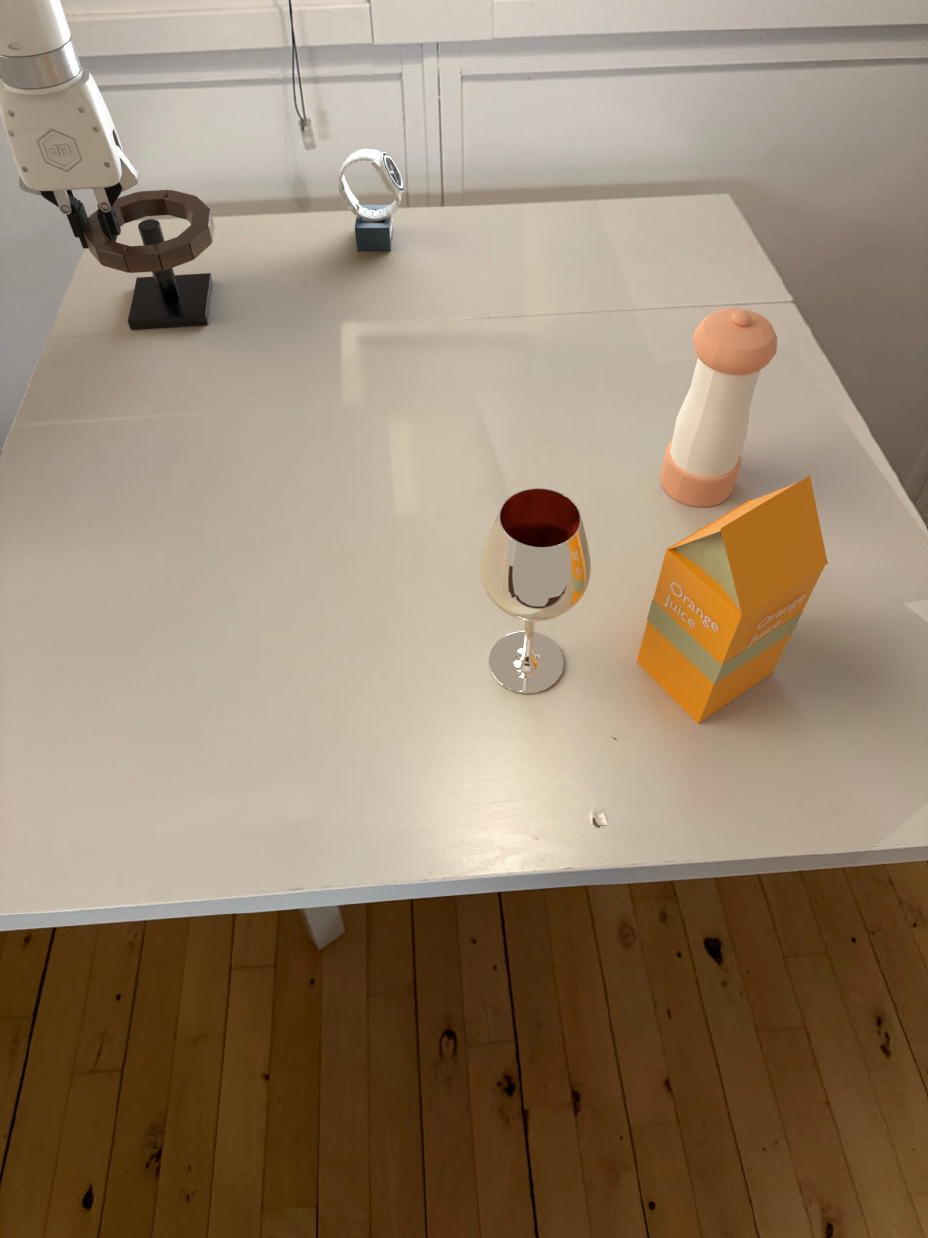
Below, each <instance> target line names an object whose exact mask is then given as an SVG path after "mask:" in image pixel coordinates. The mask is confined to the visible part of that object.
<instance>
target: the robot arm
mask: <svg viewBox="0 0 928 1238" xmlns="http://www.w3.org/2000/svg"><path fill="white" fill-rule="evenodd" d="M0 117H1V121H2V125H3V128H4V131H5V135H6V139H7V142H8V144H9V147H10V151H11V154H12V157H13V160H14V163H15V167H16V169H17V172H18V174H19V181H18V182H19V183H18V186H19V188H20V190H21V191H23V192H25V193H29V194H32V195H36V196H41V197H43V198H44V199H45V200H47V201H48V202H49V203H51V204H53V205H54V206H56V207H57V208H58V209H59V211H60V212H61V213H62V214H63V215H66V218H67V220H68V224H69V226H70V228H71V231H72V234H73V236H74V238H76V239H77V238H78V239H79V242H80V244H81V247H82V249H83V250H85V249H89V248H88V245H87V243H86V240H85V237H84V234H83V233H84V231H85V227H86V224H87V220H88V217H89V216H88V214H87V212H86V211H87V210H86V208H85V205H84V203H83V202H81V199H78V198H76V194H75V191H74V190H88V189H89V190H90V189H91V190H92V191H93V194H94V197H95V199H96V202H97V206H96V207H97V210H98V212H97V217H98V220H99V223H100V226H101V229H102V231H103V232H104V233H105V234H106V236H107V237H108V238H109V239H110V240H111V241H113V242H117V239H118V236H121V233H122V229H121V227H120V224H119V221H118V218H117V215H116V212H115V209H114V206H113V204H114V203H115V201H116V200H117V198H120V195H121V193H122V192H125V191H127V190H129V189H131V188H133V187H134V186H137V185H138V183H139V179H140V174H139V171H137V170H136V168H135V167H134V166H133V164H132V163H131V162H130V160H129V159H128V157H127V156H126V155H125V154H124V149H123V146H122V143H121V140H120V137H119V135H118V132H117V129H116V126H115V124H114V121H113V118H112V116H111V113H110V111H109V109H108V107H107V104H106V102H105V100H104V98H103V95H102V92H101V91H100V89H99V87H98V84H97V83H96V81H95V79H94V77H93V75H92V74H91V71H90V70H89V69H88V68H87V67H84V66H82V65H81V62H80V59H79V55H78V53H77V49H76V45H75V43H74V39H73V37H72V33H71V31H70V27H69V24H68V20H67V18H66V14H65V12H64V8H63V5H62V2H61V0H0Z"/></svg>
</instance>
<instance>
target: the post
mask: <svg viewBox="0 0 928 1238" xmlns="http://www.w3.org/2000/svg"><path fill="white" fill-rule="evenodd" d="M137 230H138V231H139V235H140V238H141V241H142V246H143V245H155V244H158V243H161V242H164V241H166V240H165V236H164V233H163V229H162V226H161V223H160V221H159V220H157V219H154V218H148V219H144V220H142V221H140V222H138V225H137ZM151 273H152V276H138V277H136V279H135V282H134V283H135V284H134V288H133V294H132V299H131V303H130V308H129V312H128V317H127V324H128V327H129V329H130V330H132V331H134V330H148V329H150V330H151V329H162V328H164V329H165V328H180V327H194V326H196V327H197V326H208V325H209V318H210V310H209V309H211V302H210V297H211V298H212V293H211V289H212V290H213V285H212V280H213V276H212V273H211V272H206V273H205V272H204V273H190V274H189V273H188V274H175V271H174V267H173V268H170V269H168V270H165V271H164V270H162V271H155V272H151Z"/></svg>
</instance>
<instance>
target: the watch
mask: <svg viewBox="0 0 928 1238" xmlns="http://www.w3.org/2000/svg"><path fill="white" fill-rule="evenodd" d="M364 161H367V162H370V165H371V166H372V167H373V168H374V170H375V172H376V175H377V178H378V179H379V182H380V183H381V185H382V186H383V189H385V191H386V192H387V193H388V194H390V195H391V196H392V197H394V200H393V202H391V204H360V200H358V199H357V197H356V196H355V194H354V193H353V191H352V190H351V188H350V186H349V184H348V181H347V180H346V176H345V175H344V172H346V170H347V169H348V168H349V167H351V166H352V165H353V164H356V163H359V162H364ZM404 183H405V182H404V180H403V176H402V174H401V172H400V169H399V168H398V165H397V164H396V162H395V161H394V160H393V158H392V156H390V155H389V153H388V152H385V151H381V150H378V149H374V148H361V149H357V150H355V151H353V152H351V153H350V154H349V155H348V156H347V157H346V158H345V159H344V160H343V162H342V164H341V166H340V170H339V176H338V191H339V194H340V196H341V198H342V200H343V202H344V203H345V205H346V206H347V209H349V210H350V212H351V213H352V214H353V215H354V216H356V217H355V224H354V234H355V244H356V251H357V252H391V251H392V243H393V233H394V220H393V219H394V218H393V215H394V214H395V212H397V210H398V208H399V207H400V204H401V199H402V193H403V192H404V191H405V184H404Z"/></svg>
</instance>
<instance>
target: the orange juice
mask: <svg viewBox="0 0 928 1238" xmlns="http://www.w3.org/2000/svg"><path fill="white" fill-rule="evenodd" d="M827 565H828V558H827V553H826V548H825V544H824V538H823V533H822V527H821V524H820V518H819V513H818V509H817V504H816V498H815V493H814V489H813V482H812V478H811V475H810V474H809V475H808V476H806V477H805V478H803V479H801V480H799V481H798V482H796V483H792V484H790V485H788V486H785V487H783V488H780V489H777V490H775V491H772V492H770V493H768V494H765V495H762V496H760V497H757V498H754V499H749V500H747V501H745V502H744V503H742V504H740V505H739V506H737V507H735V508H734V509H731V510H730V511H729V512H727V513H725V514H723V515H722V516H720V517H719V518H716V519H715V520H713V521H712V522H710V523H708V524H707V525H705V526H703V527H701V528H699V529H697V530H696V531H694V532H693V533H691V534H690V535H688V536H686V537H684V538H683V539H681V540H679V541H678V542H676V543H674V544H672V545H671V546H669V547H667V548H666V550H665V553H664V557H663V561H662V565H661V568H660V572H659V575H658V579H657V584H656V587H655V591H654V594H653V597H652V600H651V603H650V606H649V609H648V614H647V618H646V625H645V629H644V632H643V635H642V640H641V644H640V647H639V650H638V655H637V659H636V663H637V664H638V665H639V666H640V667H641V668H642V669H643V670H644V671H645V672H646V673H647V674H648V675H649V676H650V677H651V678H652V679H653V680H654V681H655V682H656V683H657V685H659V686H660V687H661V689H663V690H664V691H665V692H666V693H667V694H668V696H670V697H671V698H672V700H674V702H676V703H677V704H678V706H680V707H681V709H682V710H684V712H686V713H687V714H688V716H689V717H691V719H692V720H693V721H694V722H695V723H696V724H698V725H699V724H700V723H702V722H703V721H705V720H706V719H708V718H709V717H710V716H712V715H713V714H715V713H716V712H718V711H719V710H721V709H722V708H723V707H725V706H727V705H728V704H729V703H730V702H732V701H733V700H735V699H737V698H738V697H740V696H741V695H742V694H744V693H745V692H747V691H748V690H749V689H751V688H752V687H754V686H755V685H757V684H758V683H759V682H761V681H762V680H764V679H766V678H767V677H768V676H770V675H771V674H773V673H774V671H775V668H776V667H777V664H778V663H779V660H780V658H781V657H782V654H783V652H784V650H785V648H786V646H787V644H788V642H789V640H790V638H791V636H792V634H793V632H794V631H795V629H796V627H797V625H798V623H799V621H800V619H801V617H802V615H803V614H804V609H805V608H806V606H807V603H808V601H809V600H810V597H811V595H812V593H813V591H814V590H815V588H816V586H817V585H816V584H817V583H818V581H819V579H820V577H821V575H822V573H823V571H824V569H825V566H827Z"/></svg>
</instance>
